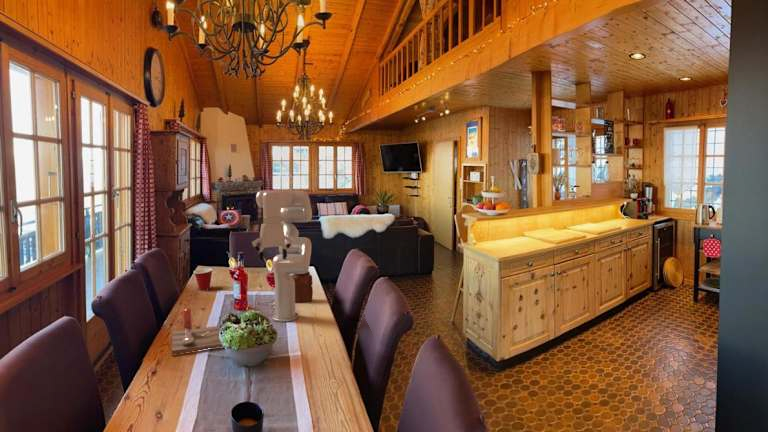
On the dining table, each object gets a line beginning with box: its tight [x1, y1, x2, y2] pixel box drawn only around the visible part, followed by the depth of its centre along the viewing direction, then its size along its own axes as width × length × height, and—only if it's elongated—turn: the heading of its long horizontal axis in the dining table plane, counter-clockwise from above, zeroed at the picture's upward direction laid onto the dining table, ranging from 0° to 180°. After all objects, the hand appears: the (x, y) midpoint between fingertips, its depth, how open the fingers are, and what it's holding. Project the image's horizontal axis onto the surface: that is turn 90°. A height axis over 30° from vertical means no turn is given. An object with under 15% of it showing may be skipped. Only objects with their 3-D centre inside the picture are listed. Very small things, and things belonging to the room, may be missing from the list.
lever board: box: [171, 325, 222, 356], centre depth 190 cm, size 22×19×2 cm
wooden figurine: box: [290, 270, 314, 303], centre depth 247 cm, size 12×6×18 cm, turn 105°
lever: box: [182, 307, 194, 346], centre depth 187 cm, size 18×4×10 cm, turn 24°
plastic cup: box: [193, 267, 214, 291], centre depth 270 cm, size 11×11×12 cm
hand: (273, 259), depth 194 cm, fingers open, 9 cm apart
